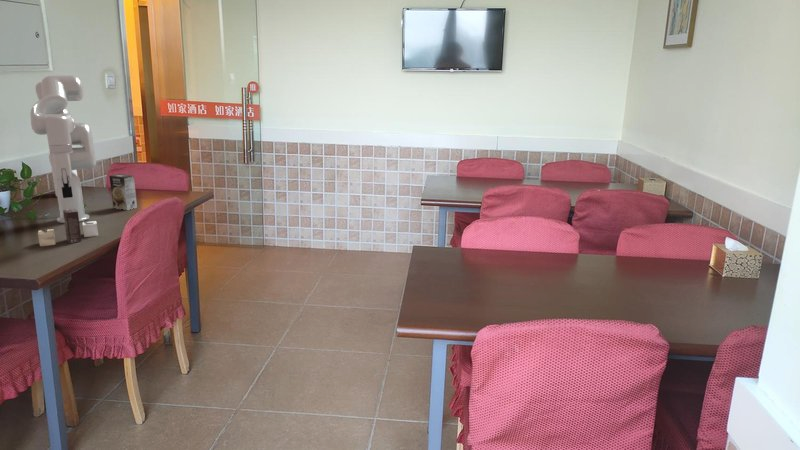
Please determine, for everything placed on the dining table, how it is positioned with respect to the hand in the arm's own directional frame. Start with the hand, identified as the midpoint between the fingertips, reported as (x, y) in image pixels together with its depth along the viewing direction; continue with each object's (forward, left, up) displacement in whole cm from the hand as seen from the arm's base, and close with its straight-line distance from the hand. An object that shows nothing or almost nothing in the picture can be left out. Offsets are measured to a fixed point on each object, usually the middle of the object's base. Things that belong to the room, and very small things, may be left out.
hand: (68, 197), depth 221 cm
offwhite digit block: (-6, +6, -18) cm, 20 cm away
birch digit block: (0, -9, -18) cm, 20 cm away
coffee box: (-49, +22, -18) cm, 57 cm away
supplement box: (-97, -2, -18) cm, 99 cm away
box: (0, 0, -18) cm, 18 cm away
